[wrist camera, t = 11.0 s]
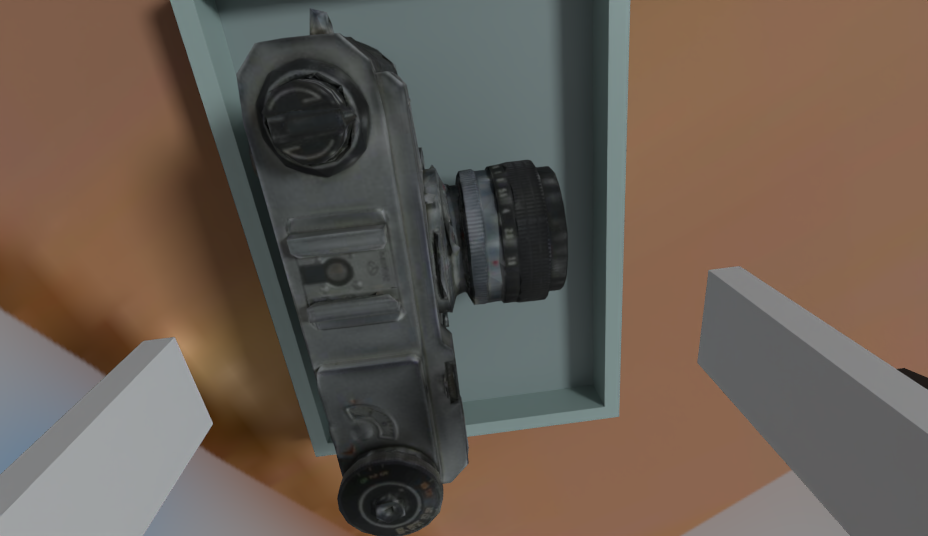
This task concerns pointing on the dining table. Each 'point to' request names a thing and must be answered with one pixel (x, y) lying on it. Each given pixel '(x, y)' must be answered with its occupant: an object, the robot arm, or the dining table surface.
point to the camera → (386, 260)
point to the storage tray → (460, 148)
